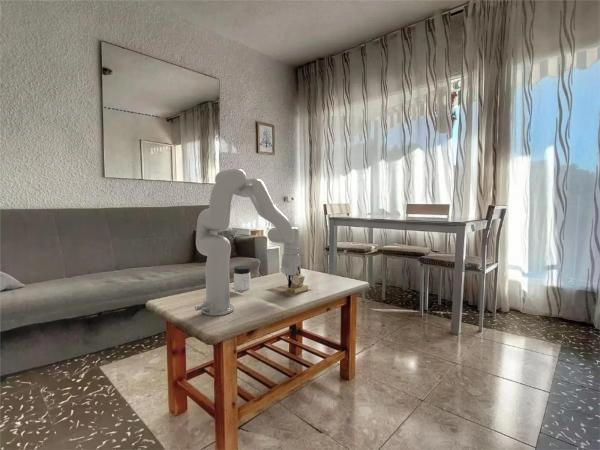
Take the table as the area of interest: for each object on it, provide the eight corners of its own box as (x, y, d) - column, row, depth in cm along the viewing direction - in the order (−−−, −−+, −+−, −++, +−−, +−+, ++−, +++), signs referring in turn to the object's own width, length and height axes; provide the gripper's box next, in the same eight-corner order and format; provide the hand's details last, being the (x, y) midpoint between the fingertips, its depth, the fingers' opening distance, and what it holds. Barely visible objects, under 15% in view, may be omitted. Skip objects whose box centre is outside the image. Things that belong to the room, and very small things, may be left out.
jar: (237, 293, 153) (236, 269, 152) (231, 289, 160) (230, 266, 159) (253, 290, 158) (253, 267, 157) (247, 287, 165) (247, 264, 164)
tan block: (294, 292, 151) (298, 277, 149) (290, 288, 153) (293, 274, 151) (301, 290, 154) (304, 276, 152) (296, 286, 156) (300, 272, 154)
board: (288, 299, 143) (287, 297, 143) (265, 292, 155) (265, 289, 155) (313, 292, 155) (313, 289, 155) (290, 285, 167) (290, 283, 167)
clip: (294, 294, 148) (294, 289, 148) (289, 292, 151) (289, 287, 150) (307, 290, 154) (307, 285, 154) (302, 288, 157) (302, 284, 157)
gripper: (275, 251, 157) (276, 286, 159) (296, 254, 147) (296, 292, 148) (286, 249, 162) (287, 283, 164) (307, 252, 152) (307, 289, 153)
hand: (291, 287), depth 156 cm, fingers closed
